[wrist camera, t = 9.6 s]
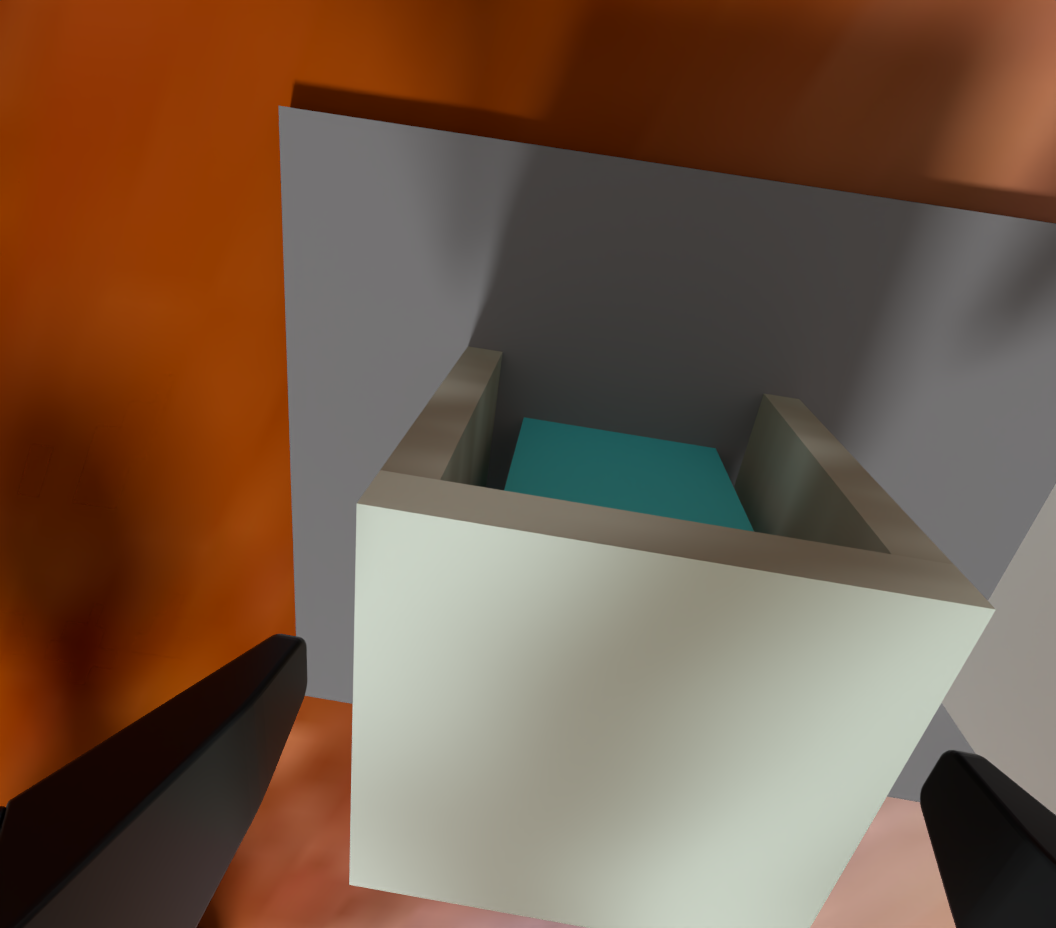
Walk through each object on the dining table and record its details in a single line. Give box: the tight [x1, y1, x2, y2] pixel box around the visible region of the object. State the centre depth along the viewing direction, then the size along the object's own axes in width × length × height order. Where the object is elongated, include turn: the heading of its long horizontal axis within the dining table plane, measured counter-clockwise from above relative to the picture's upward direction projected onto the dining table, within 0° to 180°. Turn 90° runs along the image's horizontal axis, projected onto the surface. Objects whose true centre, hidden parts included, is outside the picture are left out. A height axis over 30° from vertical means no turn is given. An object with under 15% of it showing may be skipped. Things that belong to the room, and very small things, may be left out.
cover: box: [349, 346, 996, 928], centre depth 11 cm, size 7×7×6 cm
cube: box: [504, 417, 754, 532], centre depth 12 cm, size 4×4×4 cm
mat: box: [279, 106, 1056, 802], centre depth 14 cm, size 26×14×1 cm, turn 82°
